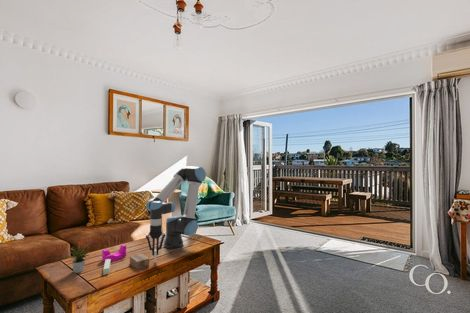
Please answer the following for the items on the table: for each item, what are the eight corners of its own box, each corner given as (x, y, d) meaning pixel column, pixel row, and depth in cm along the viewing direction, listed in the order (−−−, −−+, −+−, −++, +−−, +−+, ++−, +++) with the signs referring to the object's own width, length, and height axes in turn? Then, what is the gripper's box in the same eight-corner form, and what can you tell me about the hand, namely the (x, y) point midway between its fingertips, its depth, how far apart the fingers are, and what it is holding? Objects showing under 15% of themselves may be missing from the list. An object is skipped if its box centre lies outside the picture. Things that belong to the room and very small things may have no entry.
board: (110, 264, 167) (110, 258, 167) (108, 274, 152) (108, 268, 152) (105, 265, 166) (105, 259, 166) (103, 275, 151) (103, 269, 151)
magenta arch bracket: (106, 263, 168) (106, 252, 169) (102, 261, 172) (102, 250, 172) (127, 256, 180) (128, 246, 180) (123, 254, 184) (123, 244, 184)
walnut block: (141, 260, 173) (141, 253, 173) (149, 266, 164) (149, 258, 164) (129, 263, 168) (130, 256, 168) (136, 269, 159) (136, 261, 159)
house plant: (62, 279, 145) (63, 250, 145) (61, 270, 156) (62, 244, 157) (91, 272, 154) (91, 245, 154) (88, 265, 165) (88, 239, 165)
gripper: (165, 222, 176) (164, 256, 176) (145, 224, 171) (144, 259, 171) (166, 225, 169) (165, 260, 169) (145, 226, 164) (145, 263, 164)
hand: (155, 259), depth 170 cm, fingers closed
